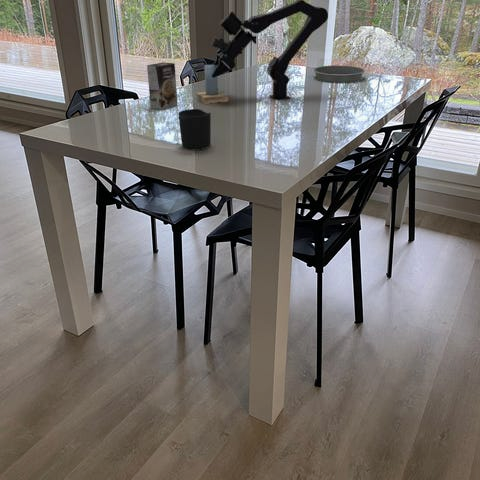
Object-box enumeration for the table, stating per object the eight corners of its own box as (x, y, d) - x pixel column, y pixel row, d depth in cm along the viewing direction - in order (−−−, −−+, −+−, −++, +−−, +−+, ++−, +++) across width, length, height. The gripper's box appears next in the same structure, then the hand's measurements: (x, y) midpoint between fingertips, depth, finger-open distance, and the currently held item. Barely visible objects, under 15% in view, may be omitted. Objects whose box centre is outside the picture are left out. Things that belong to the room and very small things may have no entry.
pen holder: (212, 140, 151) (210, 108, 146) (211, 150, 143) (210, 116, 138) (182, 141, 151) (179, 109, 146) (179, 151, 143) (177, 117, 138)
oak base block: (228, 101, 196) (228, 95, 195) (205, 104, 193) (205, 97, 192) (219, 96, 204) (218, 90, 203) (196, 99, 201) (196, 92, 200)
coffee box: (161, 110, 185) (158, 66, 177) (150, 108, 188) (145, 64, 180) (178, 105, 191) (175, 63, 183) (166, 103, 194) (163, 61, 187)
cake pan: (303, 77, 242) (303, 67, 239) (344, 72, 250) (344, 63, 248) (331, 86, 222) (332, 76, 220) (374, 81, 231) (375, 71, 229)
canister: (221, 93, 198) (220, 65, 192) (213, 96, 194) (211, 67, 189) (211, 92, 201) (210, 64, 195) (203, 94, 197) (201, 66, 192)
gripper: (221, 26, 194) (195, 56, 198) (225, 31, 178) (197, 64, 182) (240, 46, 199) (215, 75, 203) (247, 53, 183) (219, 84, 187)
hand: (211, 74), depth 194 cm, fingers open, 9 cm apart
